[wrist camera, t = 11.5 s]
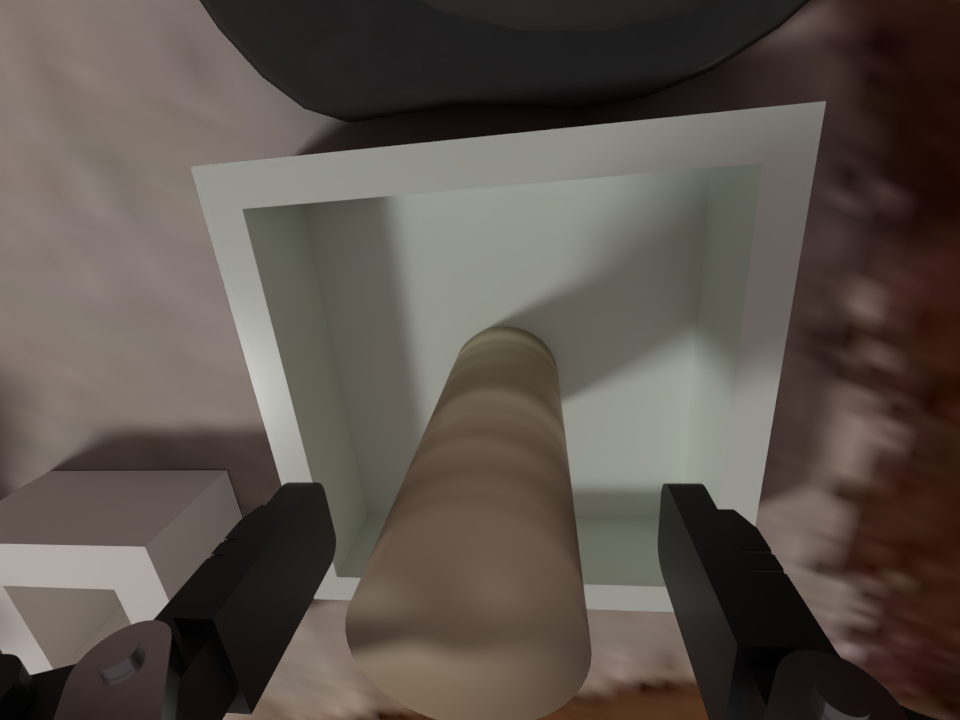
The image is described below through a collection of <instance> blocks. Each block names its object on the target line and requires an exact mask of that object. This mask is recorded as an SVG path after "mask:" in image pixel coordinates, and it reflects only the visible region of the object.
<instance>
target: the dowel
mask: <svg viewBox="0 0 960 720" xmlns="http://www.w3.org/2000/svg"><path fill="white" fill-rule="evenodd" d="M346 636H347V642H348V645H349V648H350V650H351V653H352V655H353V657H354V659H355V661H356V663H357V664H358V666H359V667H360V669H361V670H362V671H363V673H364V674H365V675H366V676H367V677H368V678H369V680H370V681H371V682H372V683H373V684H374V685H375V686H377V687H378V688H379V689H380V690H381V691H382V692H383V693H385V694H386V695H388V696H389V697H390V698H392V699H393V700H395V701H396V702H398V703H400V704H402V705H403V706H405V707H407V708H409V709H411V710H413V711H415V712H417V713H420V714H422V715H425V716H428V717H430V718H433V719H437V720H536V719H539V718H541V717H544V716H546V715H548V714H550V713H552V712H554V711H556V710H557V709H559V708H560V707H562V706H563V705H565V704H566V703H567V702H568V701H569V700H570V699H571V698H572V697H573V696H575V694H576V693H577V692H578V690H579V689H580V688H581V687H582V685H583V683H584V681H585V679H586V677H587V675H588V671H589V668H590V663H591V643H590V635H589V626H588V618H587V610H586V602H585V593H584V585H583V577H582V569H581V560H580V552H579V544H578V536H577V527H576V519H575V511H574V503H573V494H572V486H571V478H570V470H569V461H568V453H567V445H566V437H565V428H564V420H563V412H562V404H561V395H560V387H559V379H558V371H557V365H556V361H555V359H554V356H553V354H552V353H551V351H550V349H549V348H548V347H547V346H546V344H545V343H544V342H543V341H542V340H540V339H539V338H538V337H536V336H535V335H533V334H532V333H530V332H528V331H525V330H523V329H519V328H515V327H494V328H490V329H487V330H484V331H482V332H480V333H478V334H476V335H475V336H473V337H472V338H471V339H469V340H468V341H467V342H466V343H465V345H464V346H463V347H462V349H461V350H460V352H459V354H458V356H457V358H456V361H455V363H454V365H453V368H452V370H451V372H450V374H449V377H448V379H447V381H446V384H445V386H444V388H443V390H442V393H441V395H440V397H439V400H438V402H437V404H436V407H435V409H434V411H433V413H432V416H431V418H430V420H429V423H428V425H427V427H426V430H425V432H424V434H423V436H422V439H421V441H420V443H419V446H418V448H417V450H416V452H415V455H414V457H413V459H412V462H411V464H410V466H409V469H408V471H407V473H406V475H405V478H404V480H403V482H402V485H401V487H400V489H399V492H398V494H397V496H396V498H395V501H394V503H393V505H392V508H391V510H390V512H389V515H388V517H387V519H386V521H385V524H384V526H383V528H382V531H381V533H380V535H379V537H378V540H377V542H376V544H375V547H374V549H373V551H372V554H371V556H370V558H369V560H368V563H367V565H366V567H365V570H364V572H363V574H362V577H361V579H360V581H359V583H358V586H357V588H356V590H355V593H354V595H353V597H352V600H351V602H350V605H349V607H348V610H347V616H346Z"/></svg>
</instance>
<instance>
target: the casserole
mask: <svg viewBox="0 0 960 720" xmlns="http://www.w3.org/2000/svg"><path fill="white" fill-rule="evenodd" d="M808 1H809V0H200V2H201V3H202V5H203V6H204V8H205V9H206V11H207V12H208V14H209V15H210V17H211V18H212V20H213V21H214V23H215V24H216V26H217V27H218V28H219V30H220V31H221V32H222V33H223V34H224V35H225V36H226V37H227V38H228V40H229V41H230V42H231V43H232V44H233V45H234V46H235V47H236V48H237V49H238V51H239V52H240V53H241V54H242V55H243V56H244V57H245V58H246V59H247V61H248V62H249V63H250V64H251V65H252V66H253V67H254V68H255V69H256V70H257V72H258V73H259V74H260V75H261V76H262V77H263V78H265V79H266V80H267V81H269V82H270V83H271V84H273V85H274V86H275V87H276V88H278V89H279V90H280V91H282V92H283V93H284V94H286V95H287V96H288V97H290V98H291V99H292V100H294V101H295V102H296V103H298V104H299V105H300V106H302V107H303V108H304V109H307V110H311V111H314V112H317V113H320V114H323V115H326V116H330V117H333V118H336V119H339V120H342V121H346V122H349V123H350V122H356V121H362V120H368V119H373V118H379V117H385V116H391V115H397V114H403V113H409V112H415V111H421V110H427V109H433V108H439V107H445V106H451V105H457V104H463V105H485V106H506V107H530V108H556V109H585V108H590V107H596V106H601V105H606V104H611V103H617V102H622V101H627V100H633V99H638V98H643V97H646V96H649V95H651V94H654V93H656V92H659V91H661V90H664V89H666V88H669V87H671V86H674V85H676V84H679V83H681V82H684V81H686V80H689V79H691V78H693V77H696V76H698V75H701V74H703V73H706V72H708V71H711V70H713V69H714V68H716V67H717V66H719V65H720V64H722V63H724V62H725V61H727V60H728V59H730V58H731V57H733V56H735V55H736V54H738V53H739V52H741V51H743V50H744V49H746V48H747V47H749V46H750V45H752V44H754V43H755V42H757V41H758V40H760V39H761V38H763V37H765V36H766V35H768V34H769V33H771V32H772V31H774V30H776V29H777V28H779V27H780V26H781V25H782V24H783V23H785V22H786V21H787V20H788V19H789V18H790V17H791V16H792V15H794V14H795V13H796V12H797V11H798V10H799V9H800V8H801V7H803V6H804V5H805V4H806V3H807V2H808Z"/></svg>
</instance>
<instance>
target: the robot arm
mask: <svg viewBox="0 0 960 720" xmlns="http://www.w3.org/2000/svg"><path fill="white" fill-rule="evenodd" d="M335 550H336V534H335V530H334V526H333V522H332V518H331V514H330V510H329V506H328V502H327V498H326V494H325V490H324V487H323V486H322V484H320V483H318V482H287V483H285V484H284V485H282V486H281V488H280V489H279V490H278V491H277V492H276V494H275V495H274V496H273V497H272V498H271V500H270V501H269V502H268V503H267V504H266V505H261V506H260V507H258V508H257V509H255V510H254V511H252V512H251V513H250V514H248V515H247V516H245V517H244V518H243V519H241V520H240V521H239V522H238V523H237V524H236V525H235V527H234V528H233V529H232V530H231V531H230V532H229V534H228V535H227V536H226V537H225V538H224V542H221V543H220V544H219V545H218V546H217V547H216V548H215V550H214V551H213V552H212V553H211V556H210V558H207V559H206V560H205V561H204V562H203V563H202V565H201V566H200V567H199V568H198V569H197V570H196V571H195V573H194V574H193V575H192V576H191V577H190V578H189V579H188V581H187V582H186V583H185V584H184V585H183V586H182V587H181V589H180V590H179V591H178V592H177V593H176V594H175V596H174V597H173V598H172V599H171V600H170V601H169V602H168V604H167V605H166V606H165V607H164V608H163V609H162V610H161V612H160V613H159V614H158V615H157V616H156V617H155V618H154V620H148V621H142V622H138V623H135V624H132V625H129V626H127V627H124V628H122V629H120V630H118V631H116V632H115V633H113V634H111V635H109V636H108V637H106V638H105V639H103V640H102V641H101V642H99V643H98V644H97V645H95V646H94V647H93V648H92V649H91V650H90V651H88V652H87V653H86V654H85V655H84V656H83V657H82V658H81V659H80V661H79V662H78V663H77V664H73V665H69V666H65V667H61V668H57V669H53V670H49V671H45V672H41V673H37V674H33V675H30V674H29V672H28V671H27V669H26V668H25V666H24V665H23V663H22V662H21V660H20V659H19V657H17V656H15V655H13V654H0V720H222V719H223V718H224V716H225V714H226V713H239V714H252V712H253V710H254V708H255V707H256V705H257V703H258V701H259V699H260V697H261V695H262V693H263V692H264V690H265V688H266V686H267V684H268V682H269V680H270V678H271V677H272V675H273V673H274V671H275V669H276V667H277V665H278V663H279V662H280V660H281V658H282V656H283V654H284V652H285V650H286V648H287V647H288V645H289V643H290V641H291V639H292V637H293V635H294V633H295V631H296V630H297V628H298V626H299V624H300V622H301V620H302V618H303V616H304V615H305V613H306V611H307V609H308V607H309V605H310V603H311V601H312V600H313V598H314V596H315V594H316V592H317V590H318V588H319V586H320V585H321V583H322V581H323V579H324V577H325V575H326V573H327V571H328V569H329V568H330V566H331V564H332V561H333V559H334V555H335ZM658 557H659V564H660V568H661V572H662V576H663V579H664V582H665V585H666V588H667V591H668V594H669V597H670V600H671V604H672V607H673V610H674V613H675V616H676V619H677V622H678V625H679V628H680V631H681V634H682V638H683V641H684V644H685V647H686V650H687V653H688V656H689V659H690V662H691V665H692V668H693V672H694V675H695V678H696V681H697V684H698V687H699V690H700V693H701V696H702V699H703V702H704V706H705V709H706V712H707V715H708V718H709V720H937V719H934V718H931V717H928V716H925V715H923V714H920V713H917V712H915V711H912V710H910V709H908V708H906V707H904V706H901V705H900V704H899V703H898V702H897V700H896V699H895V698H894V697H893V695H892V694H891V693H890V692H889V691H888V690H887V689H886V688H885V687H884V686H883V685H882V684H881V683H880V682H879V681H877V680H876V679H875V678H874V677H872V676H871V675H870V674H868V673H867V672H866V671H864V670H862V669H861V668H859V667H858V666H856V665H854V664H852V663H851V662H849V661H847V660H845V659H842V658H841V657H840V656H839V655H838V653H837V652H836V650H835V649H834V647H833V646H832V644H831V643H830V641H829V639H828V638H827V636H826V635H825V633H824V632H823V630H822V629H821V627H820V625H819V624H818V622H817V621H816V619H815V618H814V616H813V615H812V613H811V611H810V610H809V608H808V607H807V605H806V604H805V602H804V600H803V599H802V597H801V596H800V594H799V593H798V591H797V590H796V588H795V586H794V585H793V583H792V582H791V580H790V579H789V577H788V576H787V574H784V571H783V568H782V566H781V565H780V563H779V561H778V560H777V558H776V557H775V555H772V553H771V549H770V547H769V546H768V544H767V543H766V541H765V540H764V538H763V537H762V535H761V533H760V532H759V530H758V529H757V528H756V527H755V526H754V525H753V524H751V523H750V522H749V521H748V520H747V519H745V518H744V517H743V516H742V515H740V514H739V513H738V512H737V511H735V510H734V509H718V508H717V507H716V505H715V503H714V501H713V500H712V498H711V496H710V494H709V492H708V491H707V489H706V487H705V486H704V485H703V484H702V483H664V484H663V486H662V490H661V501H660V515H659V529H658Z"/></svg>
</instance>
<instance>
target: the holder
mask: <svg viewBox="0 0 960 720" xmlns="http://www.w3.org/2000/svg"><path fill="white" fill-rule="evenodd" d="M241 519H243V518H242V515H241V512H240V509H239V506H238V503H237V500H236V497H235V494H234V491H233V488H232V485H231V482H230V479H229V476H228V473H227V470H171V471H49V472H47V473H45V474H44V475H42V476H40V477H39V478H37V479H35V480H34V481H32V482H30V483H29V484H27V485H25V486H23V487H22V488H20V489H18V490H17V491H15V492H13V493H12V494H10V495H8V496H7V497H5V498H3V499H2V500H0V650H1V652H2V653H3V654H13V655H15V656H17V657H19V659H20V660H21V662H22V663H23V665H24V666H25V668H26V669H27V671H28V672H29V674H30V675H33V674H37V673H41V672H45V671H49V670H53V669H57V668H61V667H65V666H69V665H73V664H77V663H78V662H79V661H80V659H81V658H82V657H83V656H84V655H85V654H86V653H87V652H88V651H90V650H91V649H92V648H93V647H94V646H95V645H97V644H98V643H99V642H101V641H102V640H103V639H105V638H106V637H108V636H109V635H111V634H113V633H115V632H116V631H118V630H120V629H122V628H124V627H127V626H129V625H132V624H135V623H138V622H142V621H148V620H154V618H155V617H156V616H157V615H158V614H159V613H160V612H161V610H162V609H163V608H164V607H165V606H166V605H167V604H168V602H169V601H170V600H171V599H172V598H173V597H174V596H175V594H176V593H177V592H178V591H179V590H180V589H181V587H182V586H183V585H184V584H185V583H186V582H187V581H188V579H189V578H190V577H191V576H192V575H193V574H194V573H195V571H196V570H197V569H198V568H199V567H200V566H201V565H202V563H203V562H204V561H205V560H206V559H207V558H210V556H211V553H212V552H213V551H214V550H215V548H216V547H217V546H218V545H219V544H220V543H221V542H224V538H225V537H226V536H227V535H228V534H229V532H230V531H231V530H232V529H233V528H234V527H235V525H236V524H237V523H238V522H239V521H240V520H241Z"/></svg>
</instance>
